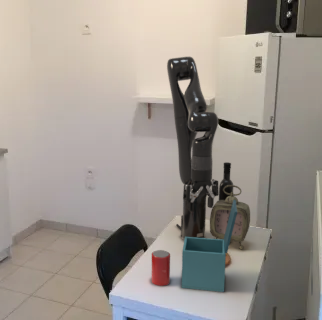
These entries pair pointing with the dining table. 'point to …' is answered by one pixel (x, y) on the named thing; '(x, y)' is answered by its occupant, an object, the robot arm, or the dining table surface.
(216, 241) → the teal open box
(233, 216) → the teal box lid
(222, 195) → the wine bottle
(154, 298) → the dining table surface
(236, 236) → the tabletop clock
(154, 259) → the can
